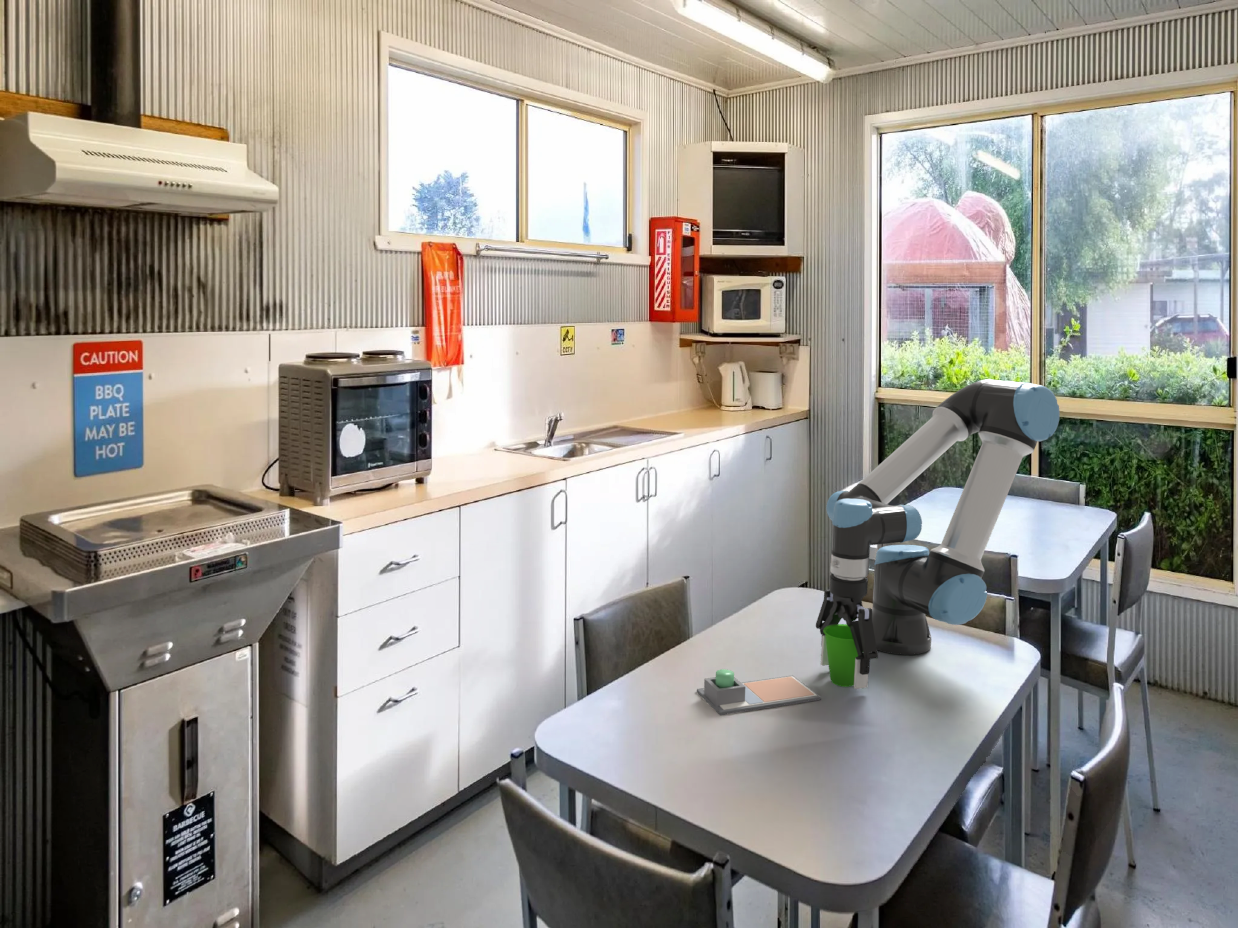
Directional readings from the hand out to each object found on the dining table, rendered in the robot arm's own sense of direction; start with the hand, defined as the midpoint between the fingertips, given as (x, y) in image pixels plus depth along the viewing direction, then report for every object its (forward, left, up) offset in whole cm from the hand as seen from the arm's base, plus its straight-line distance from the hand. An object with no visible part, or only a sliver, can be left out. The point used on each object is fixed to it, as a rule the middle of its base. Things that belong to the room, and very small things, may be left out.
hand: (843, 675), depth 184 cm
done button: (+27, 0, +1) cm, 28 cm away
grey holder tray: (+20, 0, -1) cm, 20 cm away
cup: (0, 0, -2) cm, 2 cm away
